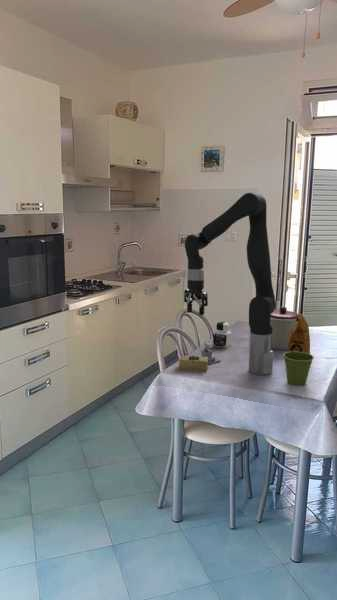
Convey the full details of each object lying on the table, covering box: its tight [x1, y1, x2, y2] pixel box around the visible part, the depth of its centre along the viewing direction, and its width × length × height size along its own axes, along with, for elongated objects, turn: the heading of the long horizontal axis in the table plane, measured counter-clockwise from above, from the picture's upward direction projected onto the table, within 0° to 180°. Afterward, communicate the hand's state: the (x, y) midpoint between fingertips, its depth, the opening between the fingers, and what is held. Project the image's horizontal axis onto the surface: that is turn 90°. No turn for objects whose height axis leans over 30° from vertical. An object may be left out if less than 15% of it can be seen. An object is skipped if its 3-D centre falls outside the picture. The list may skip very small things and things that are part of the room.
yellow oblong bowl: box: [178, 355, 209, 372], centre depth 201 cm, size 12×6×4 cm, turn 82°
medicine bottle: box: [212, 321, 232, 349], centre depth 235 cm, size 7×7×12 cm
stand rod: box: [190, 354, 198, 360], centre depth 201 cm, size 2×2×5 cm
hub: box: [197, 342, 221, 366], centre depth 210 cm, size 9×9×8 cm
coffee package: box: [287, 313, 311, 354], centre depth 206 cm, size 10×12×22 cm
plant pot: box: [282, 351, 315, 386], centre depth 184 cm, size 12×12×11 cm
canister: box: [270, 306, 300, 351], centre depth 231 cm, size 18×18×21 cm
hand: (195, 313), depth 212 cm, fingers open, 8 cm apart
